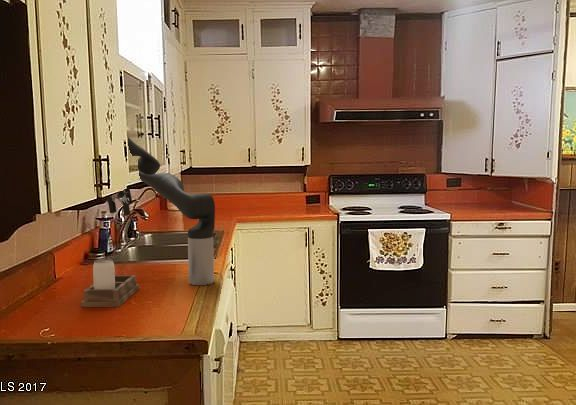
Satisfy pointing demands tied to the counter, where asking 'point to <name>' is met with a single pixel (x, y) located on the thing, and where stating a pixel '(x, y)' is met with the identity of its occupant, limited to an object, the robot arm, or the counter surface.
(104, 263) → the can
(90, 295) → the tray
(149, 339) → the counter surface
